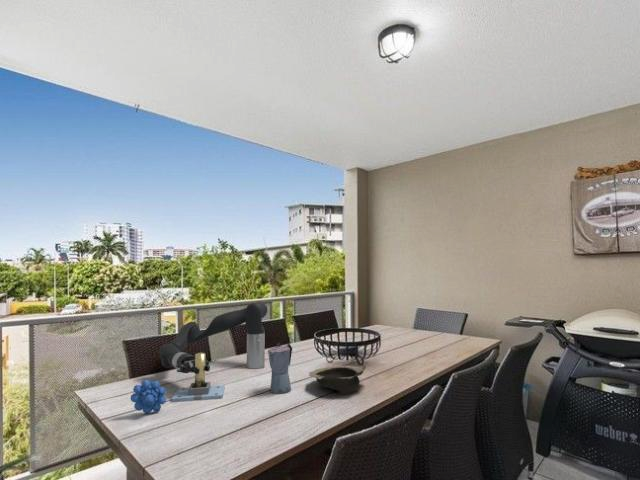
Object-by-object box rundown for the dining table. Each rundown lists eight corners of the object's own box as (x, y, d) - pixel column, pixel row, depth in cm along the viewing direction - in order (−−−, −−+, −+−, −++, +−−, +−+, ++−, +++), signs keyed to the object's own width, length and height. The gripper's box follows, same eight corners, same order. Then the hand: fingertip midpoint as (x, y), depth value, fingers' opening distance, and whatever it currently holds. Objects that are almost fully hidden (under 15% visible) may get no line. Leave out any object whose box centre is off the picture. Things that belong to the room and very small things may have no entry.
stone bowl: (365, 399, 137) (362, 375, 138) (303, 400, 142) (301, 376, 143) (369, 379, 161) (367, 358, 162) (316, 380, 166) (314, 360, 167)
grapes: (130, 422, 118) (131, 385, 119) (129, 414, 124) (130, 380, 125) (167, 414, 124) (168, 380, 125) (165, 408, 130) (166, 374, 131)
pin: (205, 386, 146) (206, 352, 147) (204, 390, 142) (204, 354, 143) (195, 387, 145) (196, 352, 146) (193, 390, 141) (194, 355, 142)
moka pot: (260, 393, 144) (261, 344, 146) (281, 382, 158) (281, 337, 160) (279, 397, 140) (280, 346, 142) (299, 386, 154) (299, 339, 155)
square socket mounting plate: (224, 388, 151) (224, 379, 152) (222, 398, 140) (222, 388, 140) (178, 391, 148) (178, 382, 148) (171, 401, 136) (172, 392, 136)
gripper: (199, 367, 159) (219, 375, 147) (167, 374, 149) (186, 383, 137) (199, 350, 160) (219, 357, 148) (168, 356, 149) (186, 364, 138)
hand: (203, 370), depth 142 cm, fingers closed on pin, 4 cm apart
